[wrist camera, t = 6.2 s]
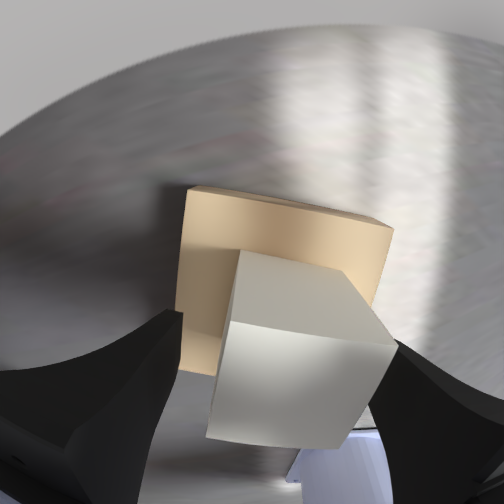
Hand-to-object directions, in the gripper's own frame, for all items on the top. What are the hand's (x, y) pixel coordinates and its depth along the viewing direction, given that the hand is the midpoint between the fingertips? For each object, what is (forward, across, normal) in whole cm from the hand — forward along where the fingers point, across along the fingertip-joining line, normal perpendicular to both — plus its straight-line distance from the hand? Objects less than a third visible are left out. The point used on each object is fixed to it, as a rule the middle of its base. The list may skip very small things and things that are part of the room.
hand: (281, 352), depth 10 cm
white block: (+3, 0, 0) cm, 3 cm away
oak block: (+6, 0, 0) cm, 6 cm away
